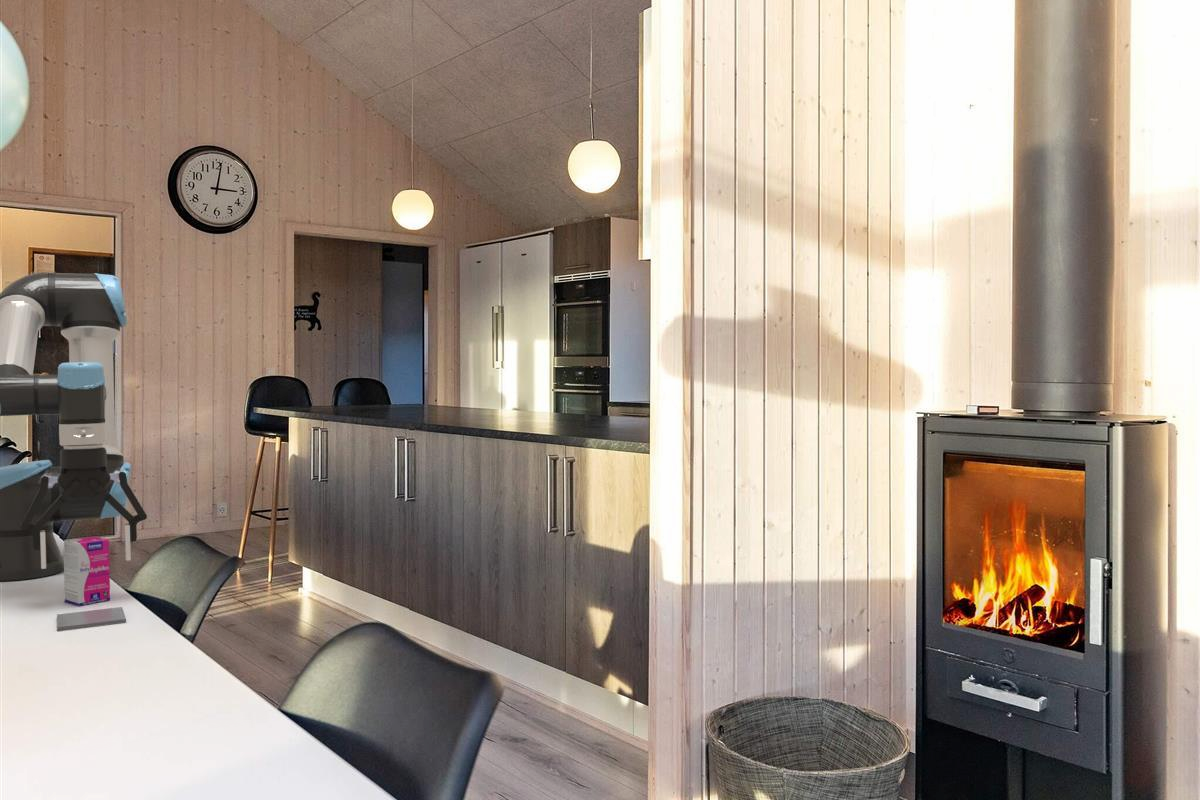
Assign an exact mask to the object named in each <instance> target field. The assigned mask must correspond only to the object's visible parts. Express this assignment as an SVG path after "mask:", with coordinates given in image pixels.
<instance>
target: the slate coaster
mask: <svg viewBox="0 0 1200 800" xmlns="http://www.w3.org/2000/svg"><path fill="white" fill-rule="evenodd" d="M125 623H127V618H126V615H125V612H124V608H123V606H118V607H111V608H109V607H108V608H101V609H100V608H99V609H94V610H84V611H75V612H67V613H58V614H56V624H57V625H56V626H57V628H56V629H57V630H56V631H57V632H61V631H69V630H76V629H78V630H79V629H85V628H94V627H101V626H109V625H117V624H125Z"/></svg>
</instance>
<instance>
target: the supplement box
mask: <svg viewBox="0 0 1200 800" xmlns="http://www.w3.org/2000/svg"><path fill="white" fill-rule="evenodd" d="M110 549H111V548H110V539H108V538H103V537H99V536H93V535H92V536H86V537H80V538H79V537H77V538H72V539H71V538H70V539H64V540H63V561H64V570H63V571H64V572H63V580H64V581H63V582H64V584H63V585H64V590H63V591H64V592H63V593H64V595H63V596H64V603H65V604H70V605H72V606H76V607H80V606H85V605H90V604H91V605H92V604H96V603H102V602H109V601H111V587H110V586H111V577H110V576H111V575H110V574H111V573H110V572H111V569H110V566H111V565H110V562H111V561H110V559H111V558H110Z"/></svg>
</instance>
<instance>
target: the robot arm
mask: <svg viewBox="0 0 1200 800" xmlns="http://www.w3.org/2000/svg"><path fill="white" fill-rule="evenodd" d="M122 290H123V289H122V285H121V282H120V279H119V278H118V277H116V275H112V274H103V273H96V272H94V273H73V272H72V273H71V272H70V273H69V272H67V273H66V272H63V273H62V272H61V273H60V272H48V271H47V272H42V271H41V272H36V273H31V274H28V275H25V276H22V277H21V278H18V279H16V280H14V281H13V282H11V283H10V284H9V285H7V286H6V288H4V289H3V290H2V291H1V292H0V417H10V416H11V417H13V416H14V417H15V416H36V415H38V416H39V415H40V416H41V415H48V416H49V415H58V417H59V421H58V435H59V445H60V446H61V447H63V448H62V449H60V451H59V466H53V463H52V461H51V460H50V459H43V460H34V461H27V462H21V463H14V464H11V465H10V464H8V465H5V466H0V582H5V581H6V582H7V581H21V580H29V579H36V578H42V577H48V576H51V575H56V574H58V573H61V572H63V571H64V556H63V555H62V553H61V550H60V547H59V545H58V543H57V541H56V538H55V535H54V522H65V521H79V520H80V521H83V520H97V519H99V520H103V519H106V518H107V519H108V518H116V517H120V516H121V517H123V518H124V519H125V521H127V522H128V523H124V525H123V527H124V555H125V556H124V559H125V561H127V562H128V561H131V558H132V554H131V542H136V541H137V539H138V536H137V535H138V533H137V532H138V531H137V530H138V529H137V526H138V525H137V524H138V523H140V522H142V521H145V520H147V518H148V515H147V513H146V512H145V510H144V508H143V507H142V505H141V503H140V502H139V500H138V499H137V497H136V495H135V494H134V491H132V488H131V487H130V479H131V471H132V465H131V463H130V462H127V461H125V462H124V453H122V452H120V451H119V449H117V447H116V420H115V419H116V418H115V415H116V413H115V385H114V384H115V382H114V380H115V379H114V378H115V377H114V376H115V375H114V341H115V340H116V339H117V338H118V337H120V335H121V328H124V327H127V325H128V322H127V321H128V320H127V313H126V309H125V307H126V306H125V302H124V300H125V299H124V295H123V291H122ZM43 327H60V334H61V336H63V337H64V339H66V340H67V342H68V358H69V359H68V361H69V362H61V363H60V364H59V365H58V367H57V374H34V369H35V368H34V367H35V362H36V361H35V360H36V352H37V351H36V350H37V342H38V337H39V336H38V335H39V334H38V333H39V331H40V330H41V329H42V328H43ZM128 501H129V503H130V504H131V505H132V508H133V509H134V511H135V512H136V514H135V515H133V514H131V512H129V510H127V503H128Z"/></svg>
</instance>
